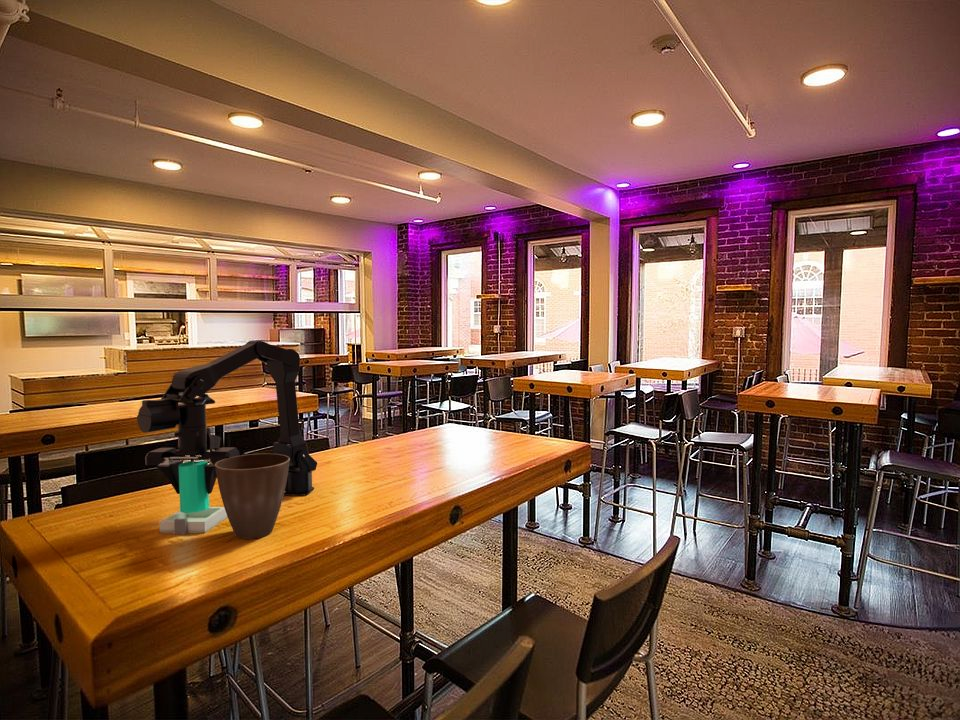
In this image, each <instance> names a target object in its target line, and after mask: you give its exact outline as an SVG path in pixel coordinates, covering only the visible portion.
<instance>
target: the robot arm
mask: <svg viewBox="0 0 960 720" xmlns="http://www.w3.org/2000/svg"><path fill="white" fill-rule="evenodd" d="M255 360H258V361H259V362H261V363H265V364H266V367H267V370H268V373H269V375H270V377H271V378H272V380H273V381H274V383H275V392H276V393H275V394H276V403H277V410H278V411H277V412H278V413H277V414H278V419H279V421H278V422H279V433H280V435H279V438H278V440H277V441H275V442H273V443H272V448H273V454H281V455H286V456H288V457H289V458H290V462H289V469H288V476H287V482H286V487H285V491H284V496H307V495H309V494H310V493H311V492H312V491H314V490H315V486H313V472H314V471H316V469H317V466H318V462H317V460H315V459H314V458H313V457H312V456H311V455H310V453H309V448H308V444H307V442H306V440H305V439H304V437H303V435H302V434H301V431H300V420H299V410H298V401H297V400H298V399H297V391H296V390H297V387H296V380H297V378H298V375H299V373H300V365H301V358H300V354H299V352H297V351H296V350H295V349H293V348H284V347H280V346H277V345H274V344H270V343H268V342H265V341H264V340H249V341H248V342H246V343H244V344H243V345H241V346H239V347H237V348H235V349H234V350H231V351H230V352H228V353H225V354H223V355H222V356H219V357H218V358H216V359H214V360H212V361H210V362H208V363H205V364H200V365H196V366H192V367H188V368H184V369H182V370H178V371H177V372H175V373H174V374H173V375H172V379H171V384H170V385H169V387H167V389H166V391H164V393H163V395H162V397H161V399H153V400H152V399H143V400H142V401H141V405H142V406H140V408H139V409H138V413H137V415H136V421H137V425H138V428H139V430H140V431H141V432H143V433H144V434H146V433H153V432H159V431H165V430H170V429H175V428H176V426H177V431H174V438H177V439H178V441H177V443H178V445H177V446H178V449H177V448H176V447H160V448H159V447H158V448H156V449H154V450H151V451H148V453H146V455H145V457H144V460H145V466H156V469H157V470H160V471H161V472H162V473H163V475H164V476H165V477H166V478H167V480H168V481H169V483H170V484H171V486H172V487H173V489H174V491H175V493H176V494H177V495H180V491H179V464H182V463H184V461H193V460H194V461H209V462H208V465H206V466H204V470H205V480H206V489H207V493H208V494H209V495H210V494H212V492H213V489H214V487H215V484H216V481H217V475H216V469H215V463H216V462H218V461H220V460H223V459H226V458H230V457H235V456H240V451H239V449H238V448H237V447H229V446H228V447H220V443H221V436H219V435H215V434H211V429H210V428H211V427H207V407H206V406H207V405H214V404H216V400H215V399H213V398H212V397H210V396H209V394H208V392H209V391H211V390H212V389H213V388H214V387H216V385H217V384H218V382H219V380H221V379H222V378H224V377H225V376H228V375H229V374H230V373H233V372H235V371H236V370H238V369H241V368H242V367H243V366H246V365H247V364H249V363H251V362H253V361H255Z"/></svg>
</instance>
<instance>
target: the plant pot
mask: <svg viewBox="0 0 960 720" xmlns="http://www.w3.org/2000/svg"><path fill="white" fill-rule="evenodd" d="M289 462H290V458H289V457H288V456H286V455H281V454H274V453H252V454H249V453H248V454H242V455H239V456H235V457H230V458H226V459H223V460H220V461H218V462H216V463H215V469H216V475H217V479H216V481H217V485H218V490H219V494H220V498H221V501H222V505H223V507H224V508H225V511H226V514H227V519H228V522H229V524H230V527H231V529H232V531H233V533H234V536H235V537H236V538H238V539H241V540H255V539H259V538H263V536H264V537H266V536H268V535H270V534H272V532H273V530H274V527H275V525H276V523H277V519H278V516H279V513H280V509H281V507H282V503H283V500H284V497H285V495H284V493H285V492H286V491H285V487H286V482H287V476H288V469H289Z"/></svg>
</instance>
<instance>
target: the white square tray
mask: <svg viewBox="0 0 960 720" xmlns="http://www.w3.org/2000/svg"><path fill="white" fill-rule="evenodd" d="M226 519H228V517H227V514H226V511H225V508H224V506H209V508H208V509H206V510H204V511H200V512H195V513H183V512H180V509H179V510H177V511H176V512H174V513H172V514H171V515H169V516H167V517H165V518H164V519H161V520H160V521H159V522H158V523H159V524H158V525H159V534H174V535H187V534H205V533H207V532H208V531H210V530H211V529H213V528H214V527H216V526H217V525H219V524H220V523H222V522H223V521H224V520H226Z"/></svg>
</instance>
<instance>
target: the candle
mask: <svg viewBox="0 0 960 720" xmlns="http://www.w3.org/2000/svg"><path fill="white" fill-rule="evenodd" d="M208 464H209V462H208V461H207V460H187V461H185V462H183V463H182V464H179V491H180V494H179V510H180V512H183V513H195V512H200V511H204V510H206V509H208V508H209V507H210V494H208V493H207V489H206V480H205V470H204V466H206V465H208Z"/></svg>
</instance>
